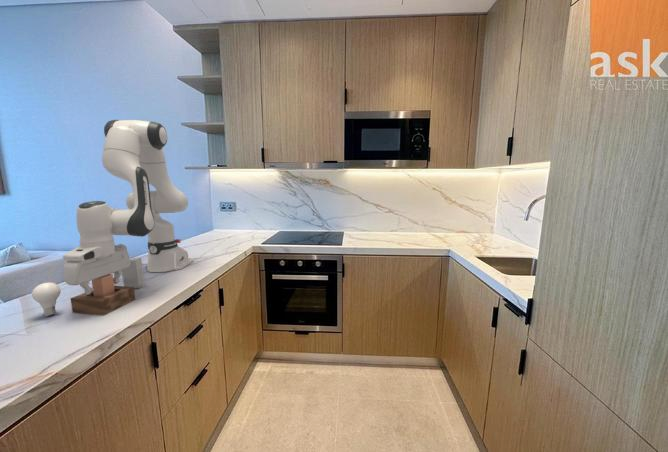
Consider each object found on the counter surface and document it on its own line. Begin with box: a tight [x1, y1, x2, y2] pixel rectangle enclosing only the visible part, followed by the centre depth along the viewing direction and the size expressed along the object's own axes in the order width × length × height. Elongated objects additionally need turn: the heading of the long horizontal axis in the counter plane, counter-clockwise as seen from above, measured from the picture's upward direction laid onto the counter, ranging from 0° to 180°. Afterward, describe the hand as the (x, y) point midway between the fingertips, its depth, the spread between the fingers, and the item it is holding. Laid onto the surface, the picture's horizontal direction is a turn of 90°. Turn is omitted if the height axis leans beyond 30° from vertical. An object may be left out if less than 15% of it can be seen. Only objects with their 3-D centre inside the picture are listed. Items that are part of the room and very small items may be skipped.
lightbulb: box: [31, 281, 62, 317], centre depth 87 cm, size 6×6×11 cm
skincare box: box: [121, 257, 146, 289], centre depth 112 cm, size 6×4×12 cm
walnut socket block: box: [70, 285, 136, 316], centre depth 95 cm, size 12×12×5 cm
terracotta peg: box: [91, 273, 115, 297], centre depth 94 cm, size 4×4×10 cm
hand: (103, 287), depth 94 cm, fingers open, 8 cm apart
